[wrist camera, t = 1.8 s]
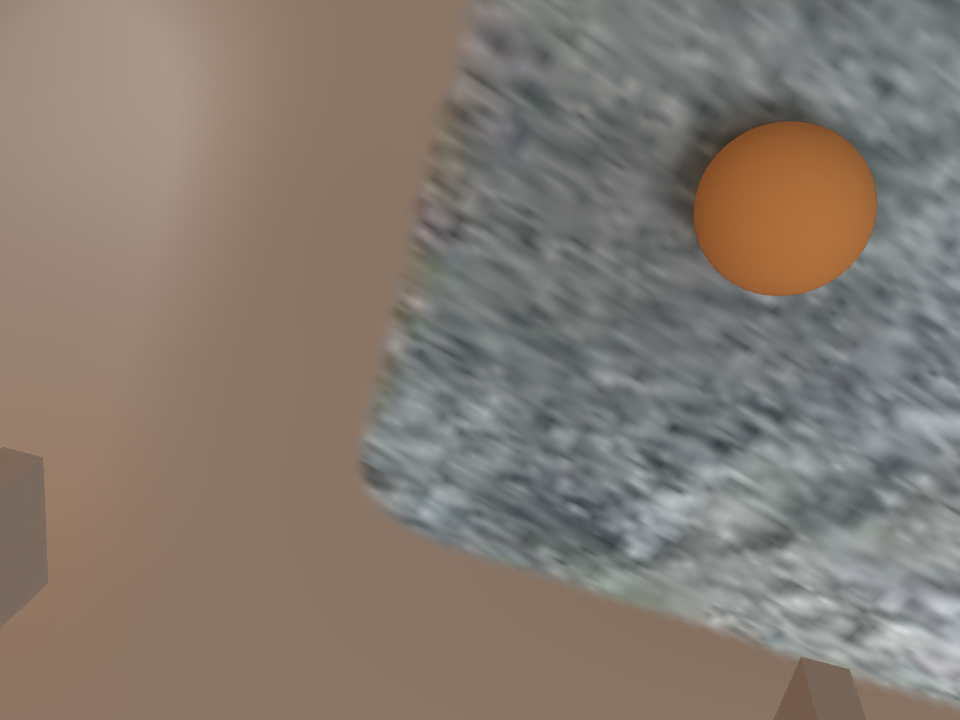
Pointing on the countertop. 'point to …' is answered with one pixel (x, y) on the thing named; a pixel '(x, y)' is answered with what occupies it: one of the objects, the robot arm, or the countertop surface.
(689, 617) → the countertop surface
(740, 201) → the ball
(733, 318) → the countertop surface
